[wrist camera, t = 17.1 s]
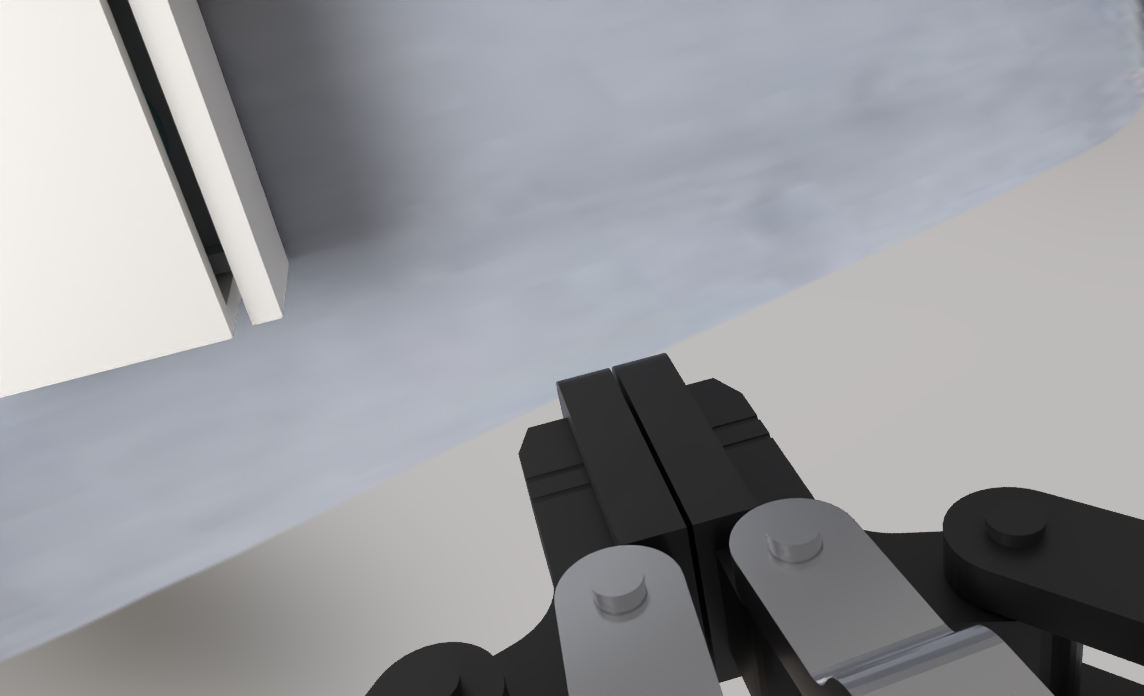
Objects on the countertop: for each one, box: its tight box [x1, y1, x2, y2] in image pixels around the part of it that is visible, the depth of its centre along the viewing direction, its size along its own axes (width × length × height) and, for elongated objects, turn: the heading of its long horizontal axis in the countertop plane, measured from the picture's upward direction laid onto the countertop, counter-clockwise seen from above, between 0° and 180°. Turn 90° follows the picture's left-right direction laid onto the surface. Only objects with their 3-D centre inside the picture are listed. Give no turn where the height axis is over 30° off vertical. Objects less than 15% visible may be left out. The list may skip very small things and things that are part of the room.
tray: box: [107, 0, 289, 325], centre depth 32 cm, size 13×12×5 cm
